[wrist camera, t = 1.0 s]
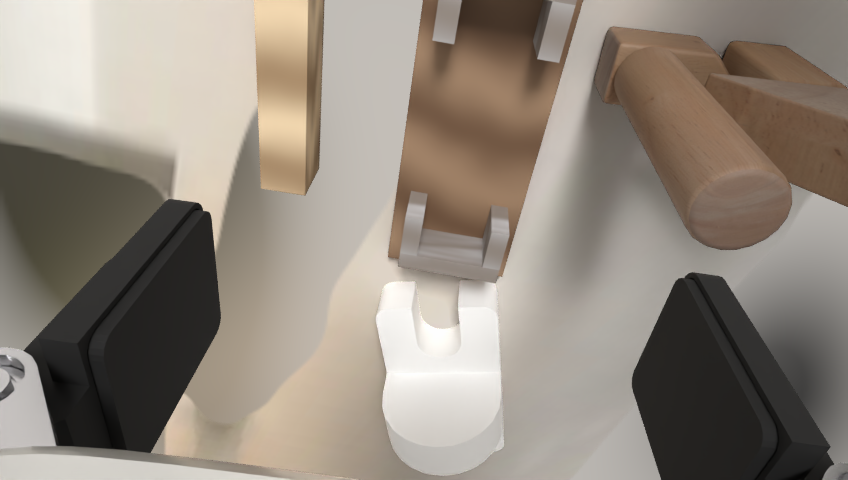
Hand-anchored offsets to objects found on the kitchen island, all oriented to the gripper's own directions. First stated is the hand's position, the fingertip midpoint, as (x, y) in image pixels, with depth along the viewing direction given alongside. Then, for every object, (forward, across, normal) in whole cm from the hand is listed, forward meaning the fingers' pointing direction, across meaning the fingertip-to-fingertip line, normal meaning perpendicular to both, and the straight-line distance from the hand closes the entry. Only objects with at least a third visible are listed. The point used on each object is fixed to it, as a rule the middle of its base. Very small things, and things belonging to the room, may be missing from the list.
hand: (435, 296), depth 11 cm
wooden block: (+27, -14, +1) cm, 31 cm away
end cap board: (+27, -2, +6) cm, 28 cm away
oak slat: (+28, +10, +4) cm, 30 cm away
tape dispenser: (+29, -4, +29) cm, 41 cm away
